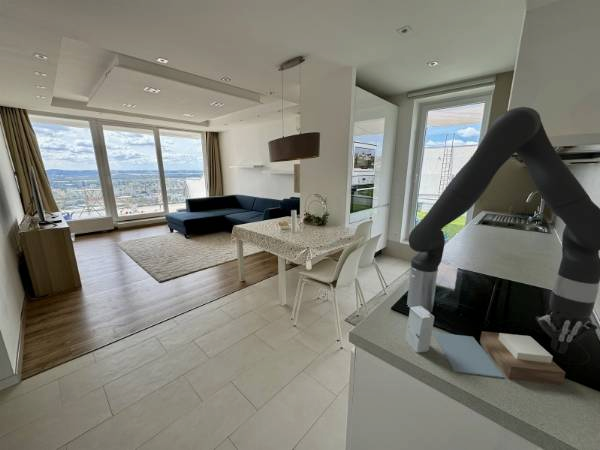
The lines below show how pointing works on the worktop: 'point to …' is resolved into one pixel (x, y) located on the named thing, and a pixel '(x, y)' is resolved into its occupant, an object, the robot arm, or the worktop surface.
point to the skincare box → (419, 329)
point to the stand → (520, 363)
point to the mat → (467, 355)
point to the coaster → (525, 348)
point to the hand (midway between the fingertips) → (557, 350)
